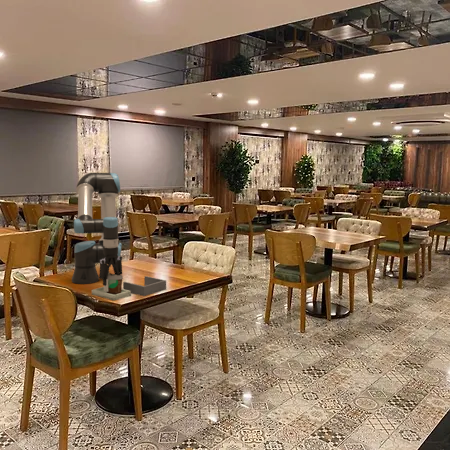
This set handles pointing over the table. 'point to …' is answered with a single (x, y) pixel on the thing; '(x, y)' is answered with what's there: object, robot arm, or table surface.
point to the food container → (114, 283)
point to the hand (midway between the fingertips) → (111, 289)
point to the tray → (104, 294)
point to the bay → (151, 286)
